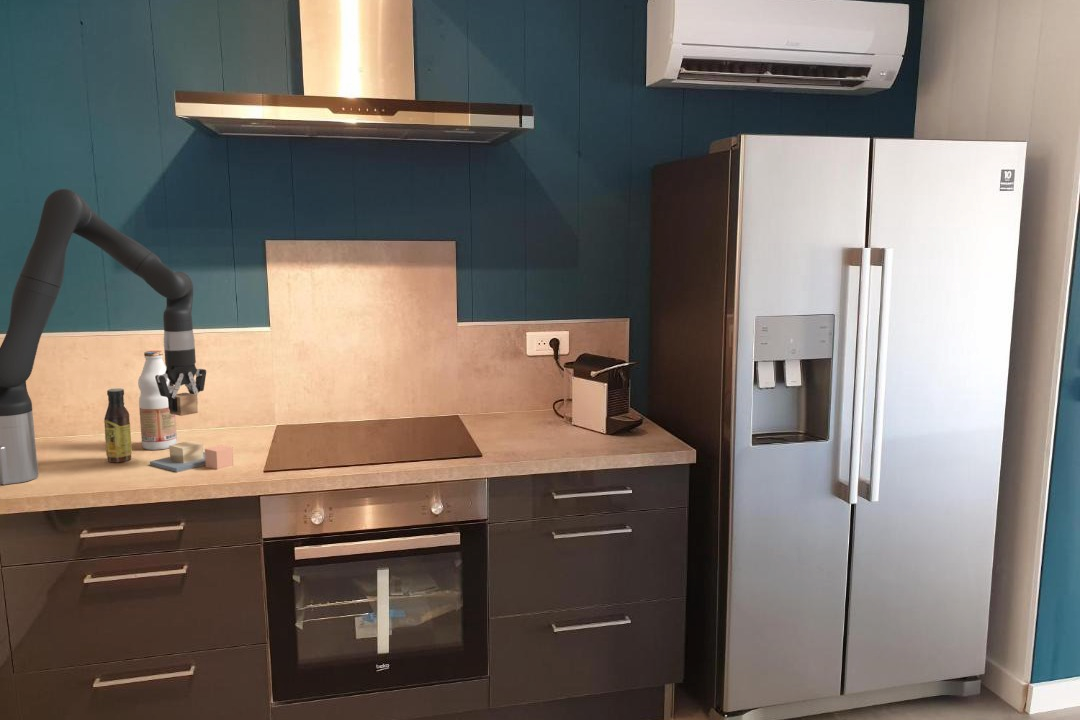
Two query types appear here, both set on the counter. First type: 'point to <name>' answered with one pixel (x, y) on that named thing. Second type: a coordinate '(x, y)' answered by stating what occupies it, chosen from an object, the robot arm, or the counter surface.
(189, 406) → the walnut block
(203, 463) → the board
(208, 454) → the terracotta block
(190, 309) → the robot arm
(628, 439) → the counter surface
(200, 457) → the oak plinth
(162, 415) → the fruit juice
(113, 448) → the sauce bottle
